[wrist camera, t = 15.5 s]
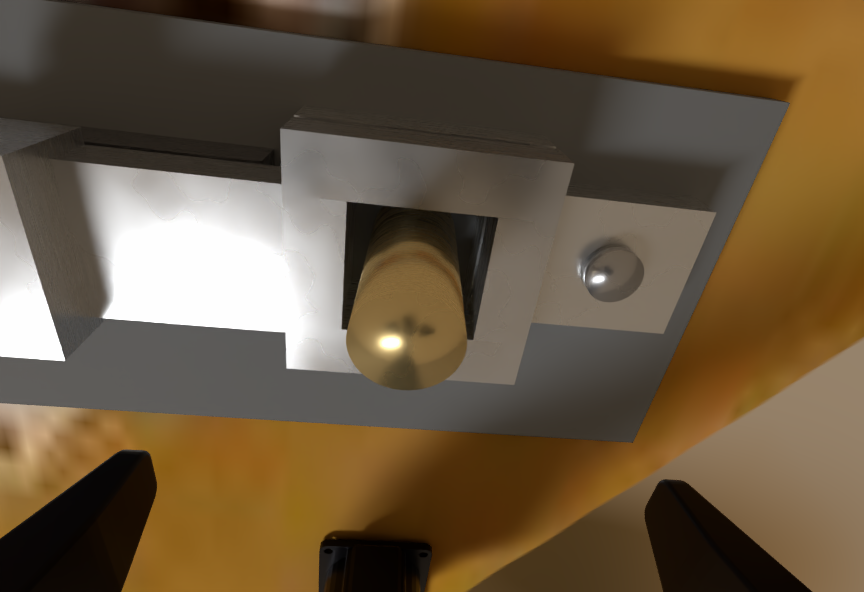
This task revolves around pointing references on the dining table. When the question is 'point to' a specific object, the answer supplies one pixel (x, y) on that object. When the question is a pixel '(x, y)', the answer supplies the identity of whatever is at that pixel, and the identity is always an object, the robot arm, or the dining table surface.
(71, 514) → the robot arm
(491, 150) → the metal latch plate
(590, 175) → the gray rectangular board
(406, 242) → the brass pin
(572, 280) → the grey slotted plate
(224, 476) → the dining table surface
